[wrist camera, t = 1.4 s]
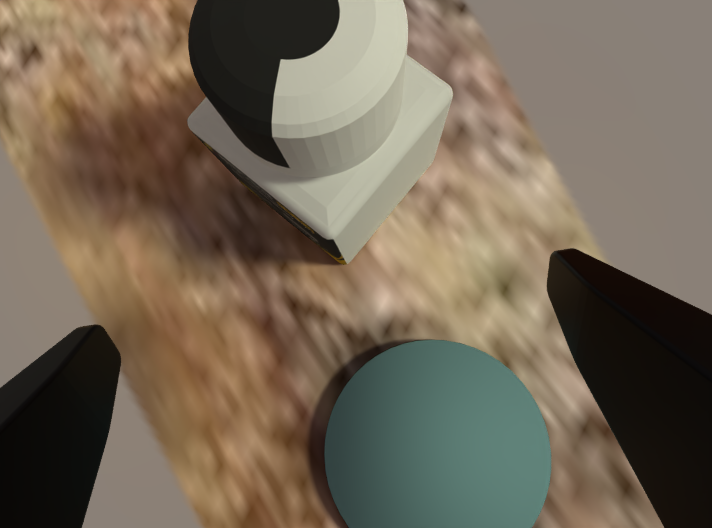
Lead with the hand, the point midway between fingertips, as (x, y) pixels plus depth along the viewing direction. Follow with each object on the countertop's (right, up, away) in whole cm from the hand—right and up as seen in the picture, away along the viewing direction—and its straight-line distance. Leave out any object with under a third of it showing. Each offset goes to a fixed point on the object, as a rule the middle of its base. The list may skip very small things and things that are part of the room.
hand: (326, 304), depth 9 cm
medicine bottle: (0, +6, +15) cm, 16 cm away
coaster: (+4, -8, +12) cm, 15 cm away
